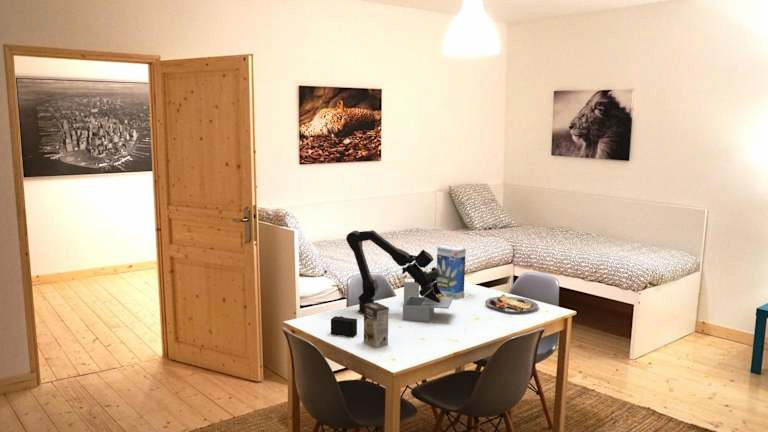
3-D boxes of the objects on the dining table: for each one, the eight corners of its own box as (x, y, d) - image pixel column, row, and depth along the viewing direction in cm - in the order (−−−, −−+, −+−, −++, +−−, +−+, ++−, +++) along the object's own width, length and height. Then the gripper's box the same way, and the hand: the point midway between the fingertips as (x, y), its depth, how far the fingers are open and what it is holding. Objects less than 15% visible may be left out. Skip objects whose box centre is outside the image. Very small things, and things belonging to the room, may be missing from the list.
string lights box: (435, 295, 337) (436, 246, 333) (443, 292, 343) (444, 244, 339) (456, 299, 328) (458, 250, 325) (464, 296, 334) (466, 247, 330)
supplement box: (419, 307, 315) (419, 282, 313) (403, 307, 315) (404, 281, 313) (418, 303, 322) (418, 278, 320) (403, 302, 322) (404, 278, 320)
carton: (402, 320, 294) (402, 305, 293) (409, 310, 310) (409, 296, 308) (428, 322, 291) (429, 307, 290) (433, 312, 307) (434, 298, 306)
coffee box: (363, 342, 265) (363, 303, 263) (375, 339, 269) (376, 301, 267) (375, 348, 258) (375, 309, 256) (388, 345, 262) (389, 306, 259)
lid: (420, 306, 291) (421, 298, 290) (426, 297, 307) (426, 289, 306) (448, 308, 288) (448, 300, 288) (452, 298, 304) (452, 291, 304)
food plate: (476, 305, 318) (476, 298, 318) (505, 297, 334) (505, 291, 333) (517, 318, 300) (518, 311, 300) (546, 309, 316) (547, 302, 315)
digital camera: (358, 333, 276) (358, 318, 275) (353, 337, 271) (353, 321, 270) (336, 330, 279) (336, 315, 278) (330, 334, 274) (330, 318, 273)
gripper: (427, 267, 287) (451, 293, 286) (433, 258, 305) (456, 283, 304) (409, 283, 289) (433, 309, 289) (416, 274, 307) (438, 298, 307)
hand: (440, 299), depth 297 cm, fingers open, 9 cm apart
